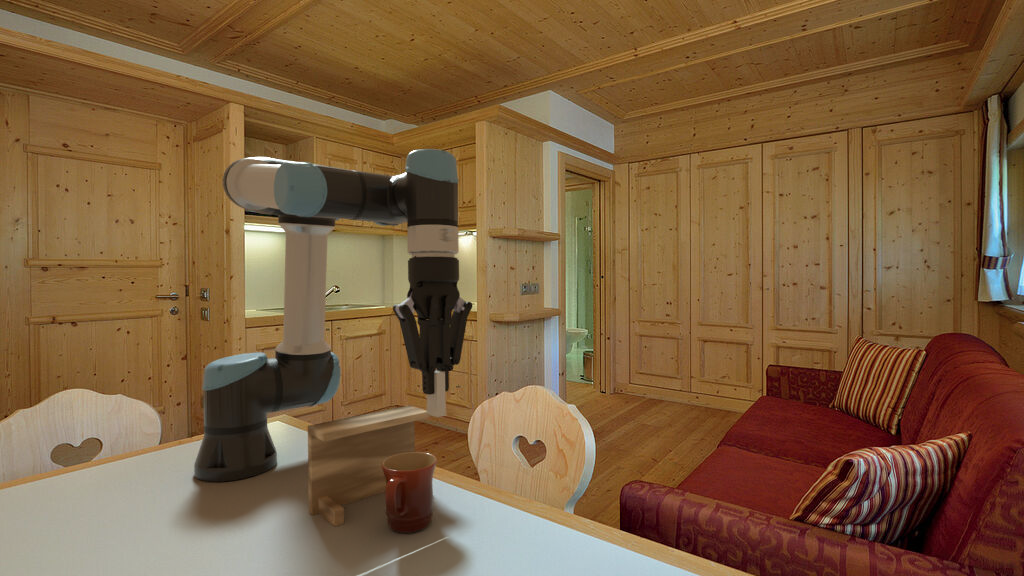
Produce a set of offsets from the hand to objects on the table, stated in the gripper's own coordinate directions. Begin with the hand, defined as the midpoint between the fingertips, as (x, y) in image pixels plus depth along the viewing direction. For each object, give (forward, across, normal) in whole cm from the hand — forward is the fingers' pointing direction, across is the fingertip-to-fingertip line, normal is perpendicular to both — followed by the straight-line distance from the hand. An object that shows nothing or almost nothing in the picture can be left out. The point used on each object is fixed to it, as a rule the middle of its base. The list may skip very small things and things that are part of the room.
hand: (436, 414), depth 76 cm
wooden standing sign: (+19, 0, +23) cm, 30 cm away
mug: (+19, -1, +7) cm, 20 cm away
